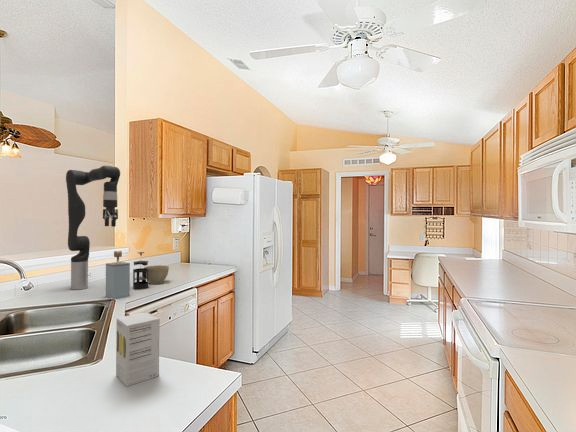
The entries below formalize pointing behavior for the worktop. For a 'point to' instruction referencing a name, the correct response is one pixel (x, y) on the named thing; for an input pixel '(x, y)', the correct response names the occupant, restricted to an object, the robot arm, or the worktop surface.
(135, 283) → the french press
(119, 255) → the plunger
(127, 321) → the supplement box
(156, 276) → the planter bowl
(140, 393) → the worktop surface
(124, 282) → the block
